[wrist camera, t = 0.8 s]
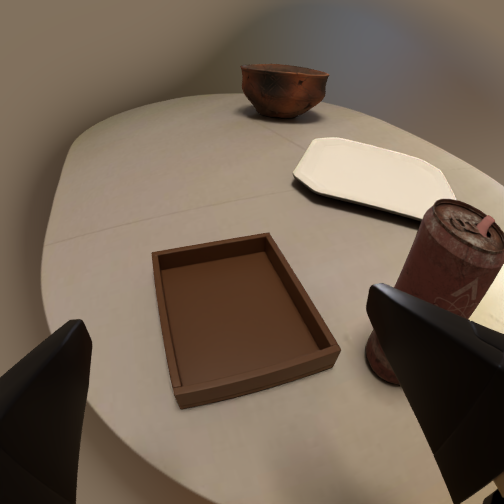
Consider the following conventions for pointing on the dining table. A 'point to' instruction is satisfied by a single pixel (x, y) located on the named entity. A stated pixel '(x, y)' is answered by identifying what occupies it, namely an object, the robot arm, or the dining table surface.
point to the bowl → (283, 88)
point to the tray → (236, 320)
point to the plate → (372, 177)
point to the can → (447, 265)
